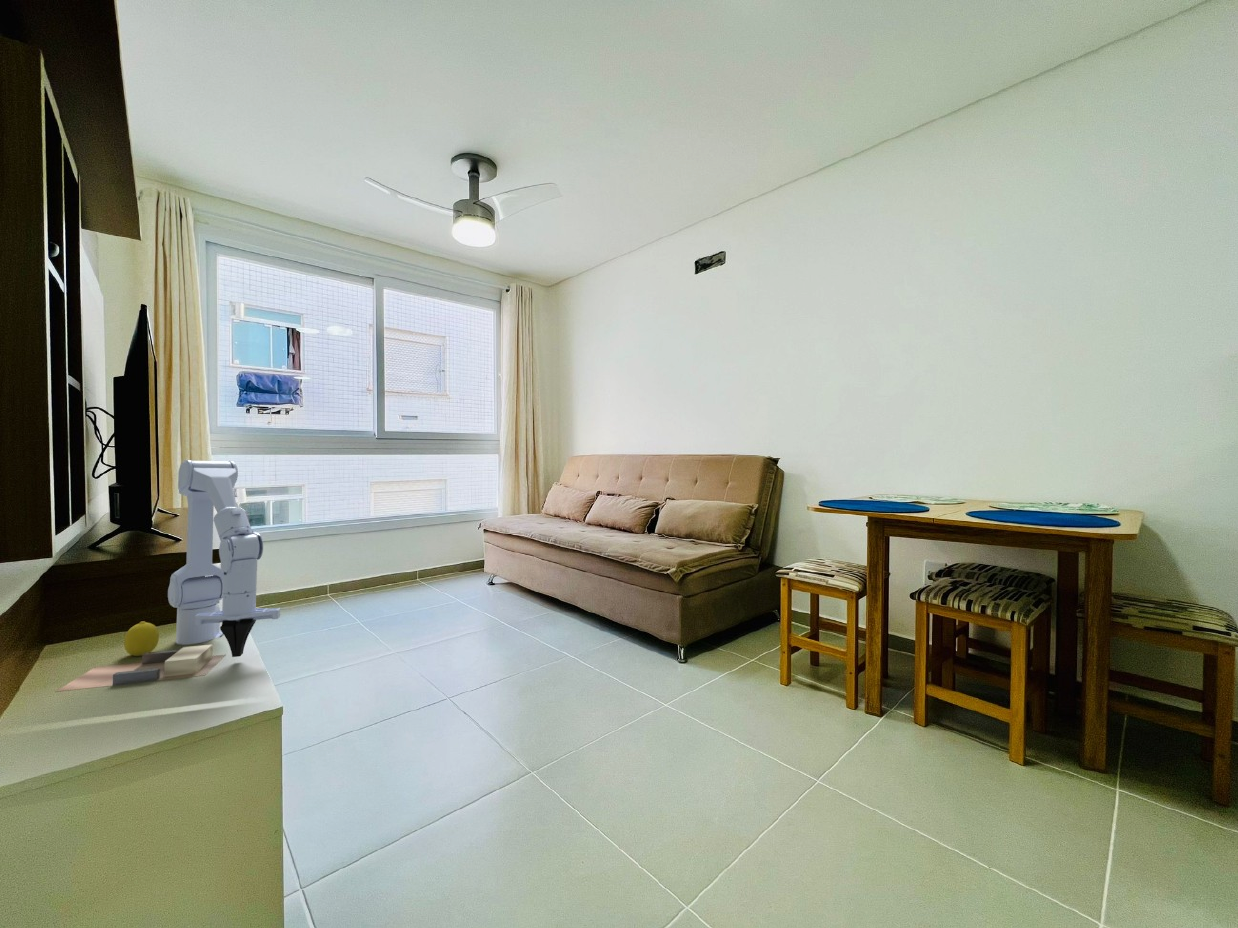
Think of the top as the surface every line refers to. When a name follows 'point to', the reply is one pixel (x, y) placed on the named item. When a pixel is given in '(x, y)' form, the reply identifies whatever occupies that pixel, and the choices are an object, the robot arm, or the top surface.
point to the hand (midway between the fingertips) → (237, 655)
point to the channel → (145, 674)
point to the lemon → (141, 639)
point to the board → (105, 673)
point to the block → (188, 660)
